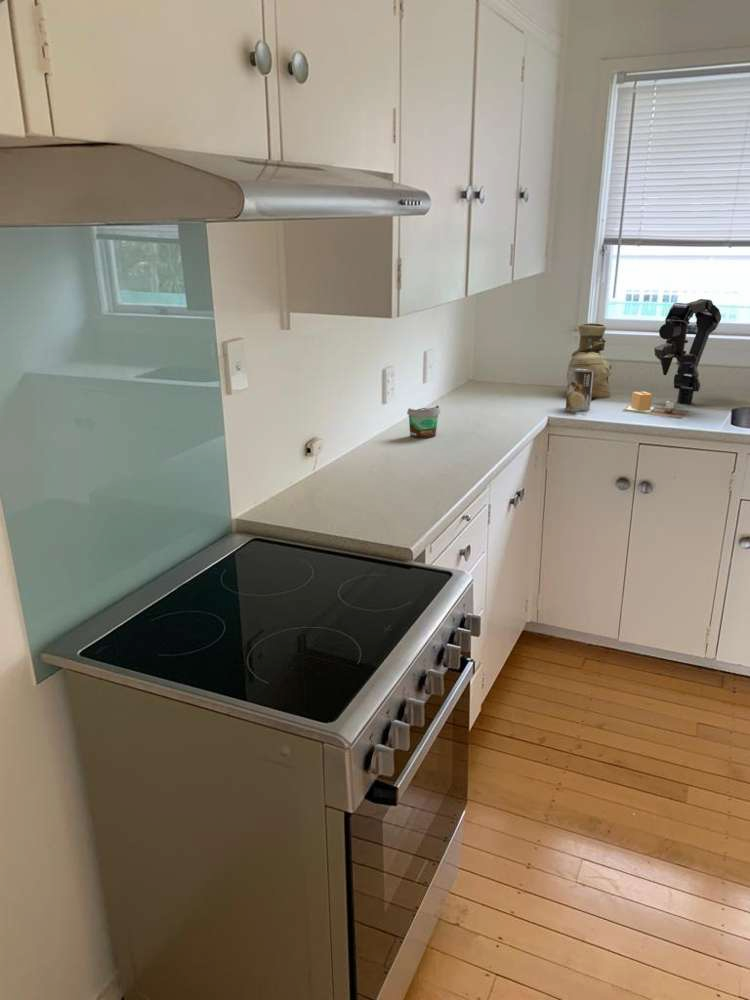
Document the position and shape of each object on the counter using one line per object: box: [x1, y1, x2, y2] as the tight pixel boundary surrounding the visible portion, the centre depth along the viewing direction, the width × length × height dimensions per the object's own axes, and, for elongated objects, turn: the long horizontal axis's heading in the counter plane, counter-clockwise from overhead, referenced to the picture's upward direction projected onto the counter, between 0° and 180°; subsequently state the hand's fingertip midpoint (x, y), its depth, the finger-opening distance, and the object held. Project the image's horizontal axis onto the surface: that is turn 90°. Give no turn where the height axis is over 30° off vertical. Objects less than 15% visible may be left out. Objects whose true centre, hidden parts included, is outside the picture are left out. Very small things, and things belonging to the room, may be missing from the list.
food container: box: [406, 404, 441, 439], centre depth 255 cm, size 12×6×10 cm, turn 117°
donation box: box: [630, 391, 653, 410], centre depth 291 cm, size 5×5×6 cm
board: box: [621, 403, 689, 420], centre depth 290 cm, size 14×22×1 cm, turn 59°
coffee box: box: [564, 368, 594, 413], centre depth 291 cm, size 9×6×16 cm
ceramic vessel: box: [566, 322, 612, 400], centre depth 314 cm, size 19×21×30 cm
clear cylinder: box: [664, 399, 675, 414], centre depth 287 cm, size 3×3×4 cm
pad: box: [626, 404, 656, 413], centre depth 292 cm, size 9×9×1 cm
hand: (671, 377), depth 291 cm, fingers open, 9 cm apart
